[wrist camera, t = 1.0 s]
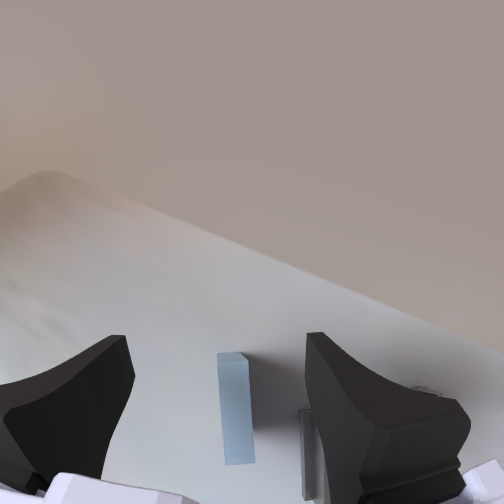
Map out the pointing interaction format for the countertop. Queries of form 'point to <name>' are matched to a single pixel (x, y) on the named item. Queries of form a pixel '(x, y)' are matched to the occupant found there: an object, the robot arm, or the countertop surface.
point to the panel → (235, 408)
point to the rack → (319, 457)
